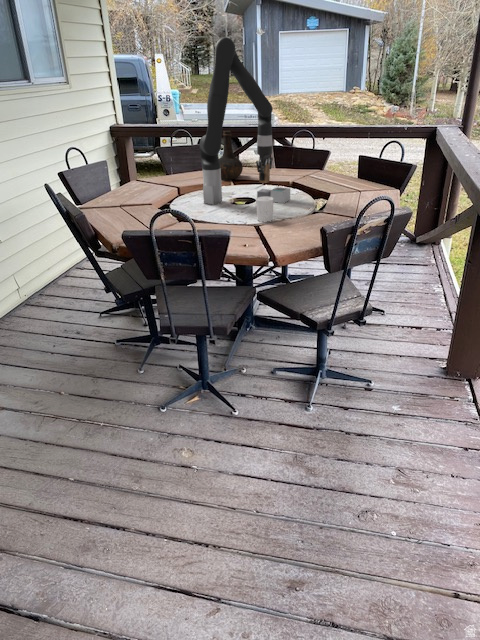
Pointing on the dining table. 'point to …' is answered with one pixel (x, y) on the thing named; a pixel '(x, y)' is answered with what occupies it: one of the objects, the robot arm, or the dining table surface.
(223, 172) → the glass bottle
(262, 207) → the white cup
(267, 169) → the block
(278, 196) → the white microwave oven
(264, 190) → the gray square block
